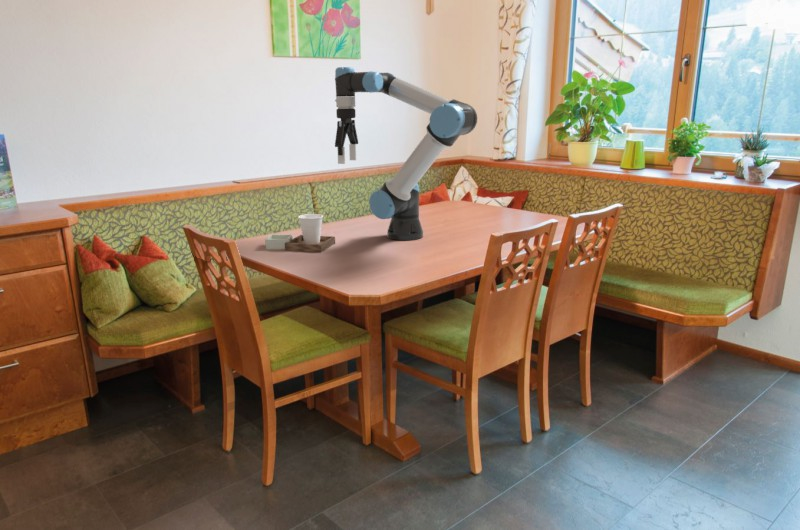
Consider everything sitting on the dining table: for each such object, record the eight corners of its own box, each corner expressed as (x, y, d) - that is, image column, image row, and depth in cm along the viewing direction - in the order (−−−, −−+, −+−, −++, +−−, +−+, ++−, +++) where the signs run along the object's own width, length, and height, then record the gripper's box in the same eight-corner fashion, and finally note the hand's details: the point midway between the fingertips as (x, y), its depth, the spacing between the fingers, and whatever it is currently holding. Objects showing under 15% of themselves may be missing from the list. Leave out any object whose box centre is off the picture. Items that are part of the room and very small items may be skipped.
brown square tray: (335, 243, 245) (334, 236, 245) (321, 252, 232) (320, 245, 231) (301, 241, 249) (300, 234, 249) (285, 250, 235) (284, 243, 235)
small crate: (293, 243, 245) (292, 234, 244) (289, 249, 236) (288, 239, 235) (270, 244, 245) (270, 234, 244) (266, 249, 236) (265, 239, 235)
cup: (320, 246, 237) (319, 218, 234) (296, 245, 238) (294, 218, 236) (327, 240, 247) (326, 214, 244) (303, 240, 248) (302, 213, 245)
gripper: (347, 107, 253) (349, 158, 259) (325, 108, 230) (327, 165, 235) (364, 107, 251) (365, 159, 257) (343, 108, 228) (345, 165, 233)
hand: (347, 162), depth 246 cm, fingers open, 13 cm apart
